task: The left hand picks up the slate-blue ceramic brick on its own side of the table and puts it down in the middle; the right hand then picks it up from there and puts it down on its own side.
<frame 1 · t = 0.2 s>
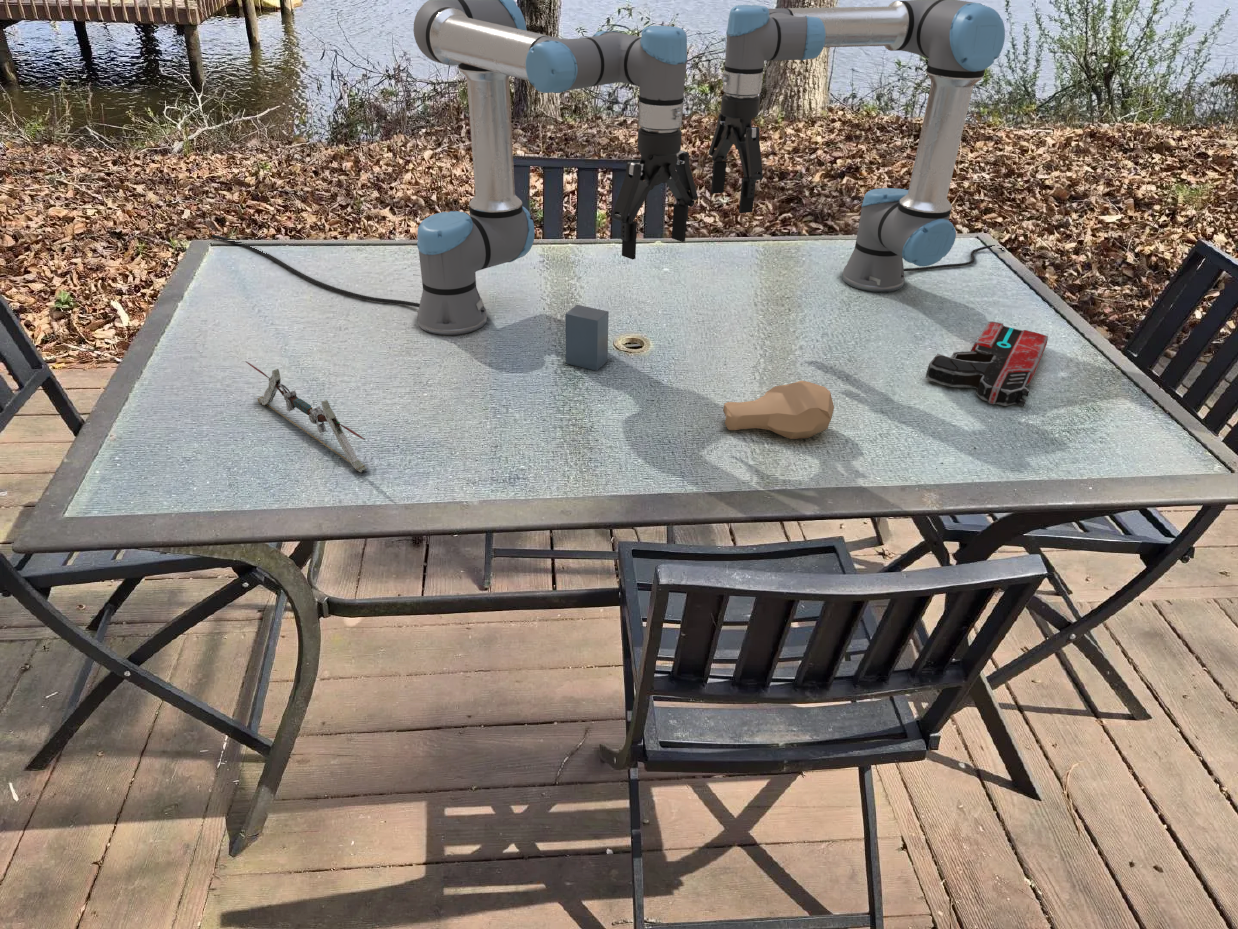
left hand: (654, 248, 161), 27 cm above the table, tool pointing down, fingers open, 13 cm apart
right hand: (731, 202, 184), 28 cm above the table, tool pointing down, fingers open, 13 cm apart
bow: (309, 435, 156), on the table
brick: (586, 362, 182), on the table
squash: (776, 430, 161), on the table
gun: (988, 369, 184), on the table
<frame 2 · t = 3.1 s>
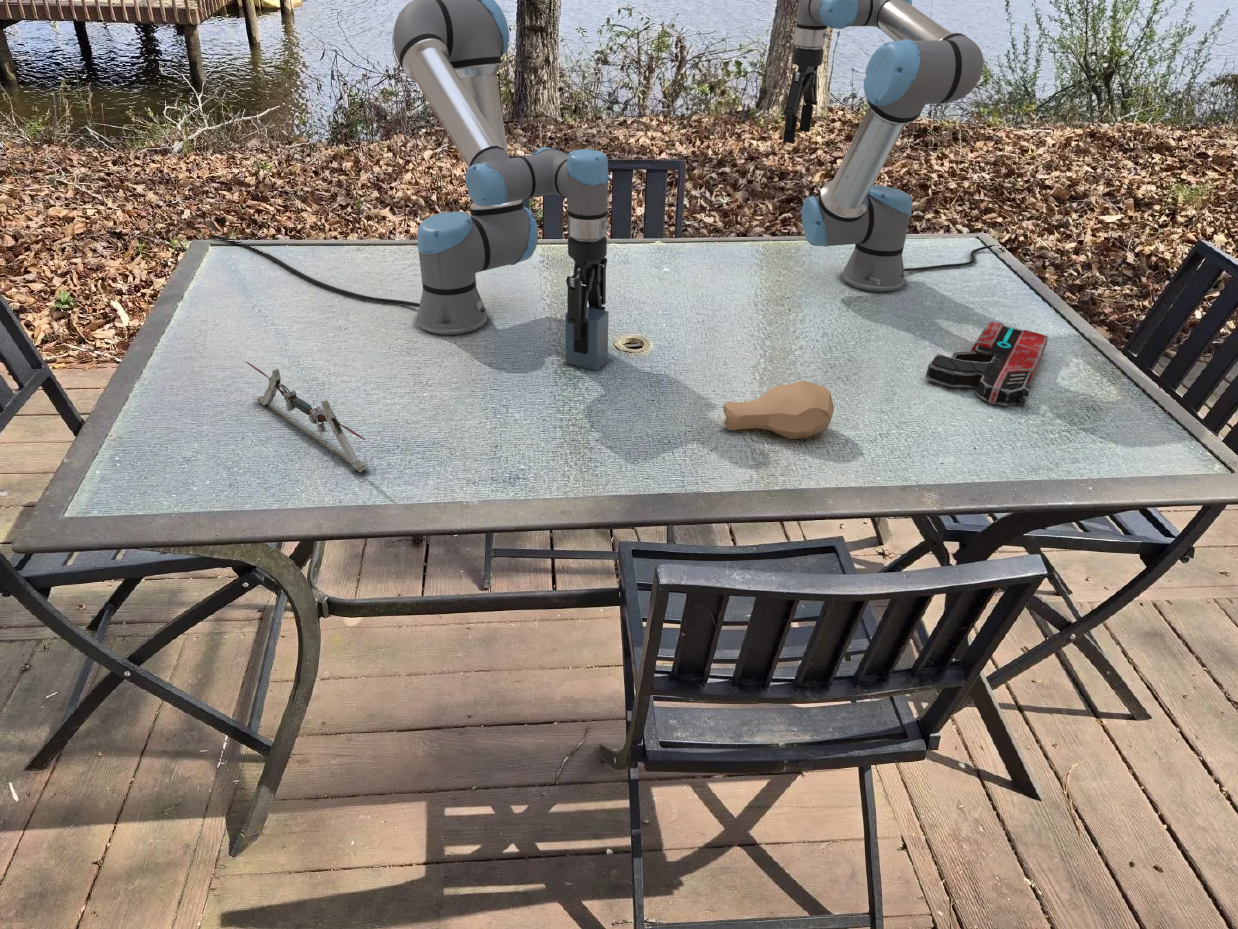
left hand: (586, 346, 180), 4 cm above the table, tool pointing down, fingers closed on brick, 5 cm apart
right hand: (796, 136, 227), 29 cm above the table, tool pointing down, fingers open, 13 cm apart
brick: (586, 362, 182), on the table, touching left hand
everything else where it was.
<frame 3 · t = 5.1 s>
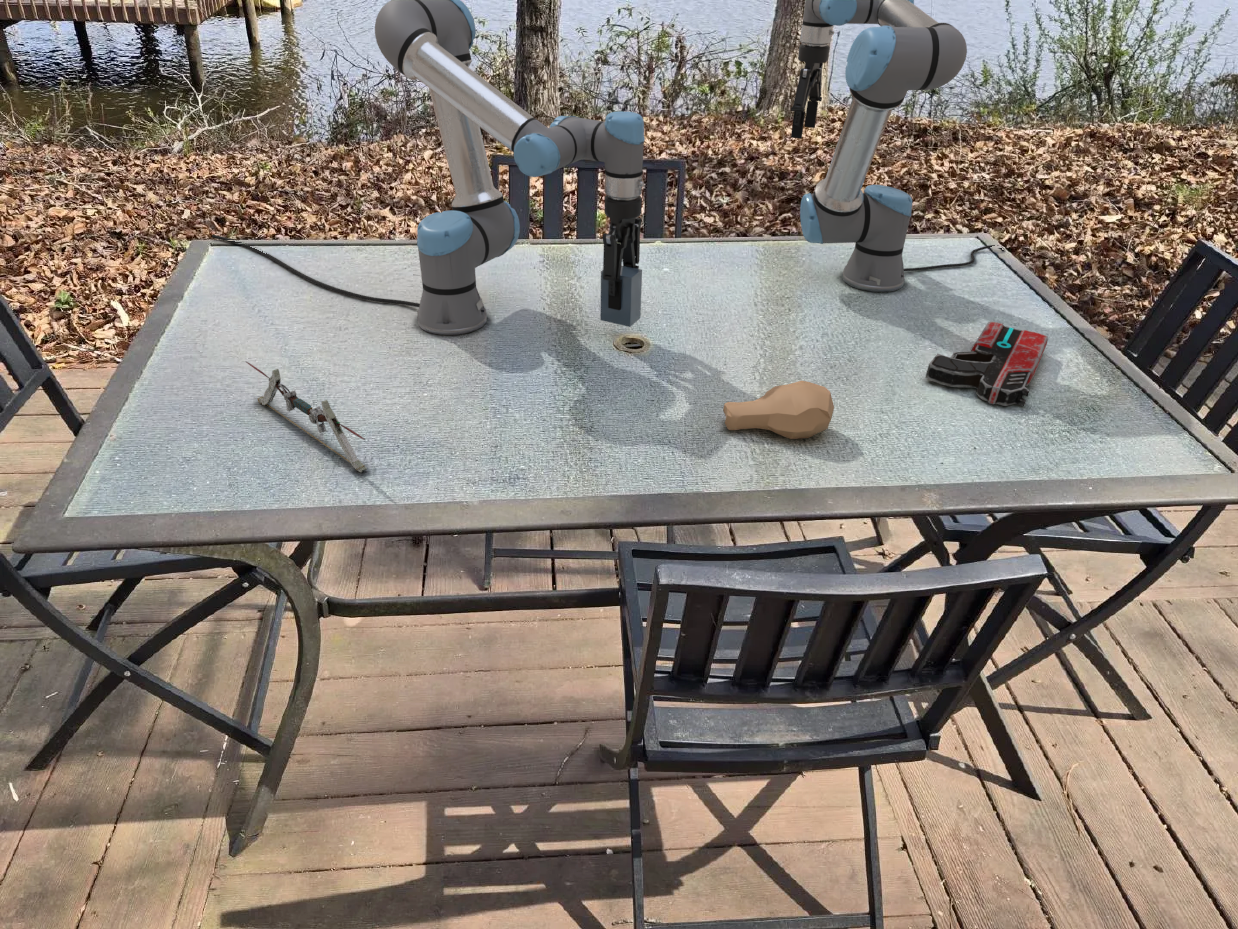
left hand: (620, 303, 188), 8 cm above the table, tool pointing down, fingers closed on brick, 5 cm apart
right hand: (802, 132, 231), 29 cm above the table, tool pointing down, fingers open, 13 cm apart
brick: (620, 319, 190), point 4 cm above the table, touching left hand
everything else where it was.
when the left hand's fingers open (5 cm above the table, at t = 7.2 s): brick drops 1 cm, on the table.
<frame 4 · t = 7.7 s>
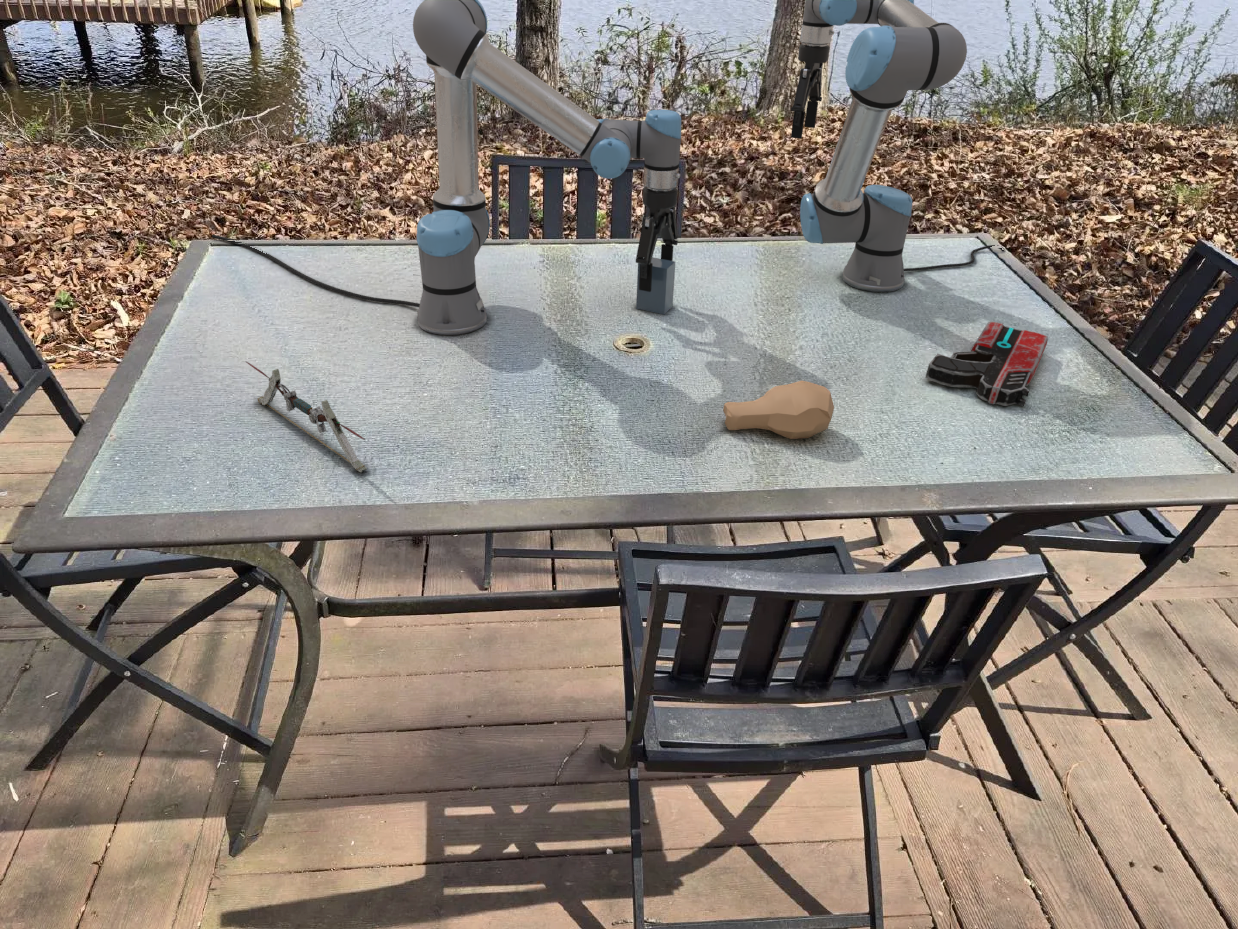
left hand: (655, 281, 203), 7 cm above the table, tool pointing down, fingers open, 12 cm apart
right hand: (802, 132, 231), 29 cm above the table, tool pointing down, fingers open, 13 cm apart
brick: (654, 307, 206), on the table
everything else where it was.
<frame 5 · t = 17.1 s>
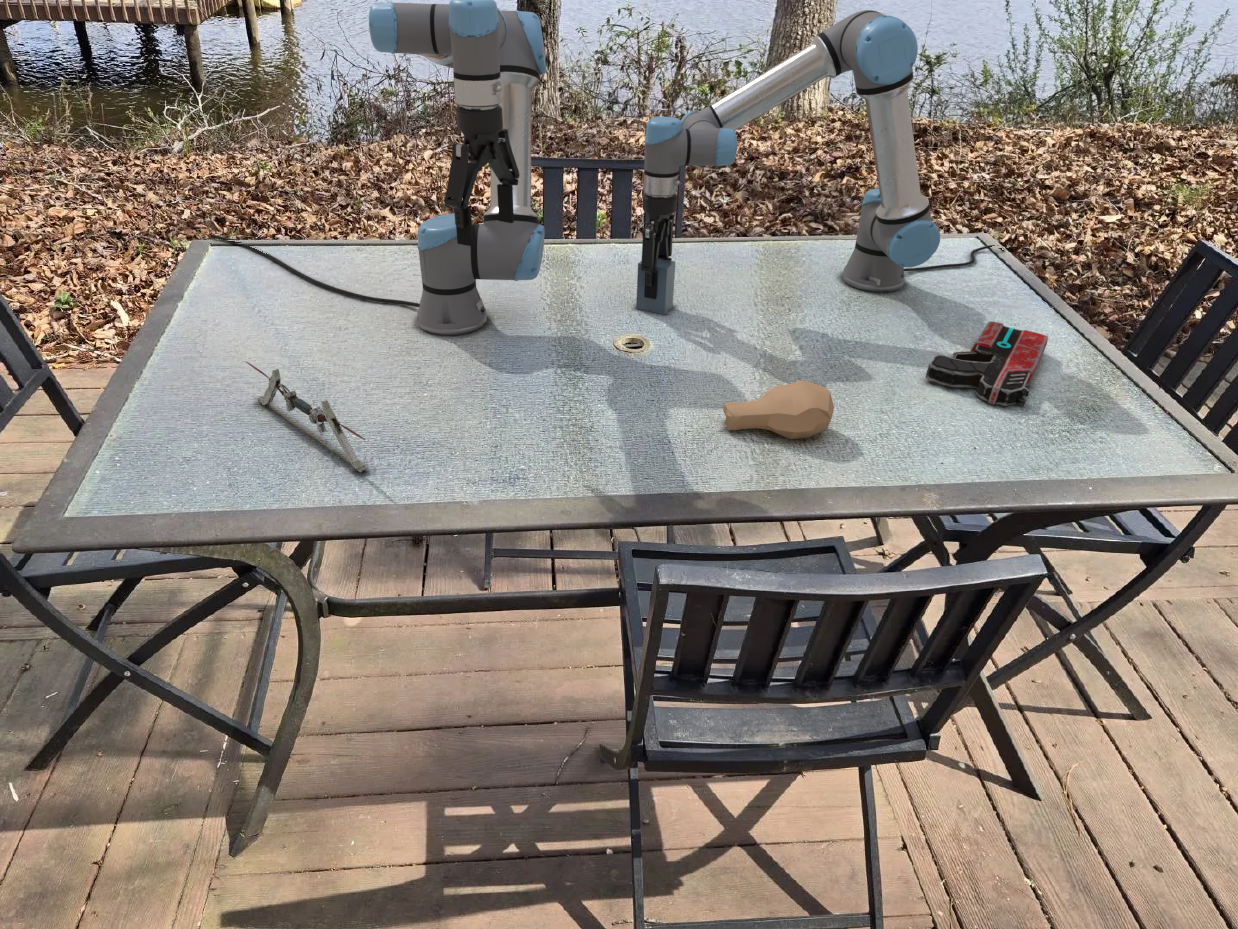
left hand: (486, 232, 154), 31 cm above the table, tool pointing down, fingers open, 13 cm apart
right hand: (655, 292, 204), 4 cm above the table, tool pointing down, fingers closed on brick, 5 cm apart
brick: (654, 307, 206), on the table, touching right hand
everything else where it was.
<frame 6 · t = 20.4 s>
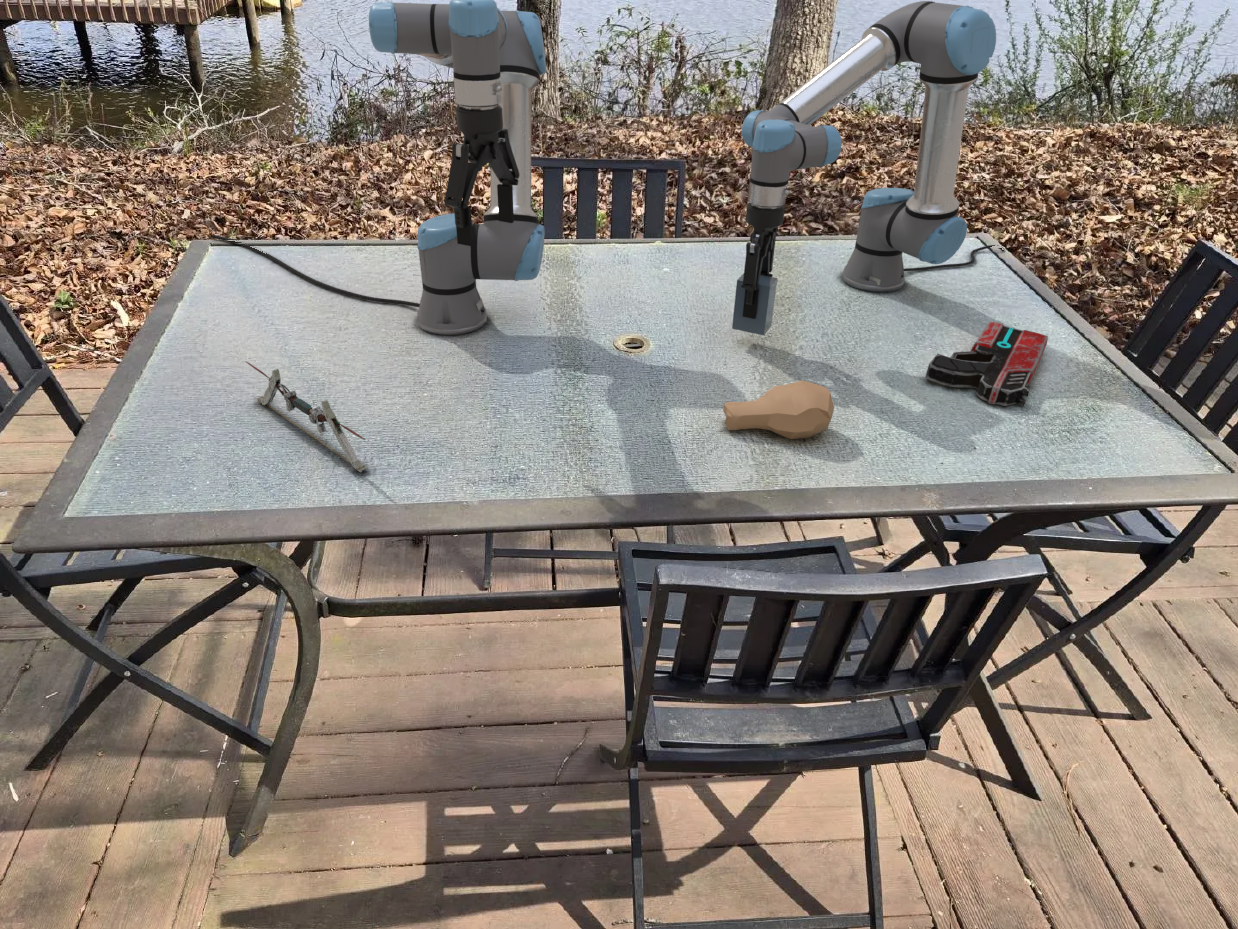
left hand: (486, 232, 154), 31 cm above the table, tool pointing down, fingers open, 13 cm apart
right hand: (753, 311, 187), 8 cm above the table, tool pointing down, fingers closed on brick, 5 cm apart
brick: (751, 327, 189), point 4 cm above the table, touching right hand
everything else where it was.
when the right hand's fingers open (5 cm above the table, at t = 23.8 s): brick drops 1 cm, on the table.
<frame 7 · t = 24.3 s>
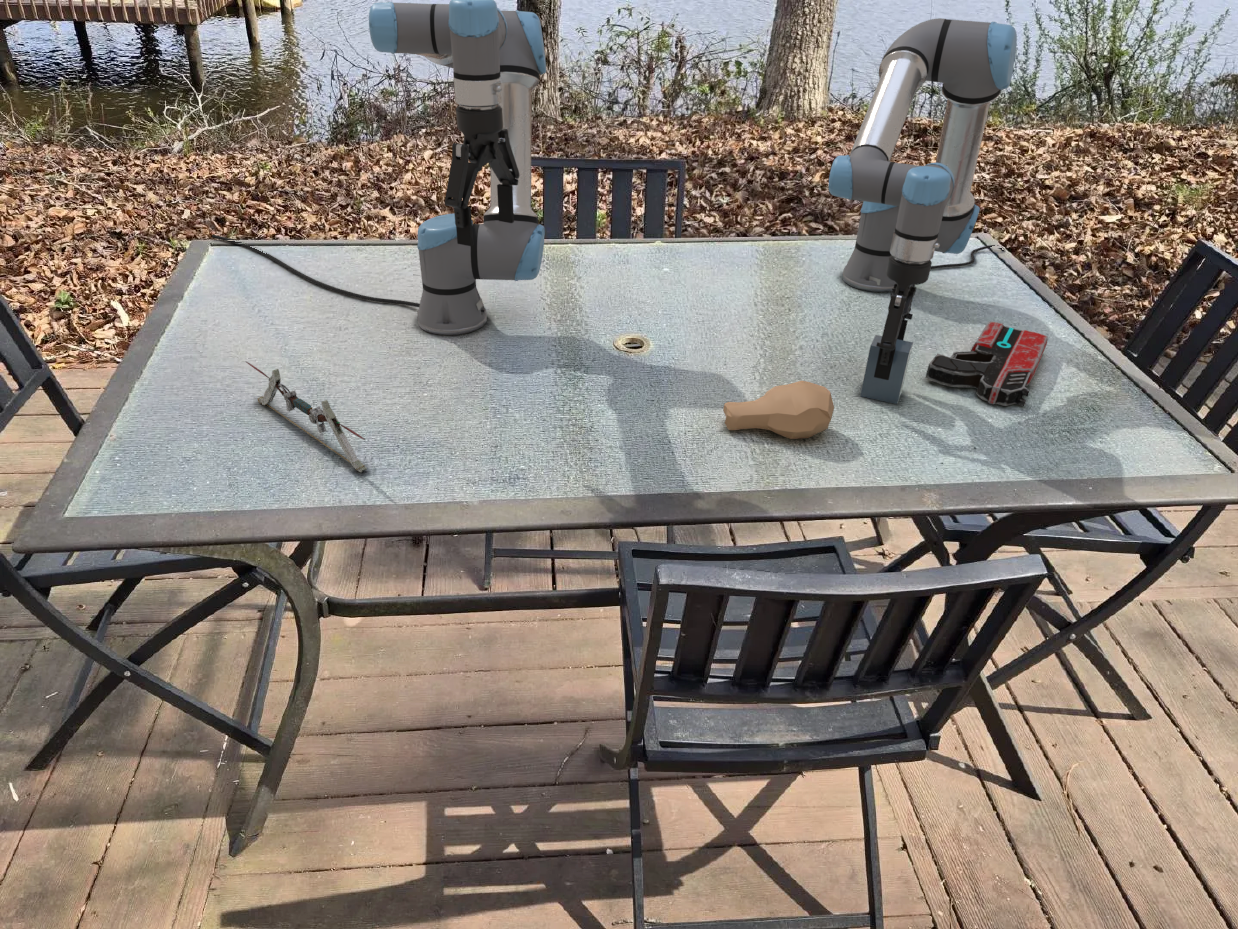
left hand: (486, 232, 154), 31 cm above the table, tool pointing down, fingers open, 13 cm apart
right hand: (887, 363, 170), 7 cm above the table, tool pointing down, fingers open, 13 cm apart
brick: (880, 394, 174), on the table
everything else where it was.
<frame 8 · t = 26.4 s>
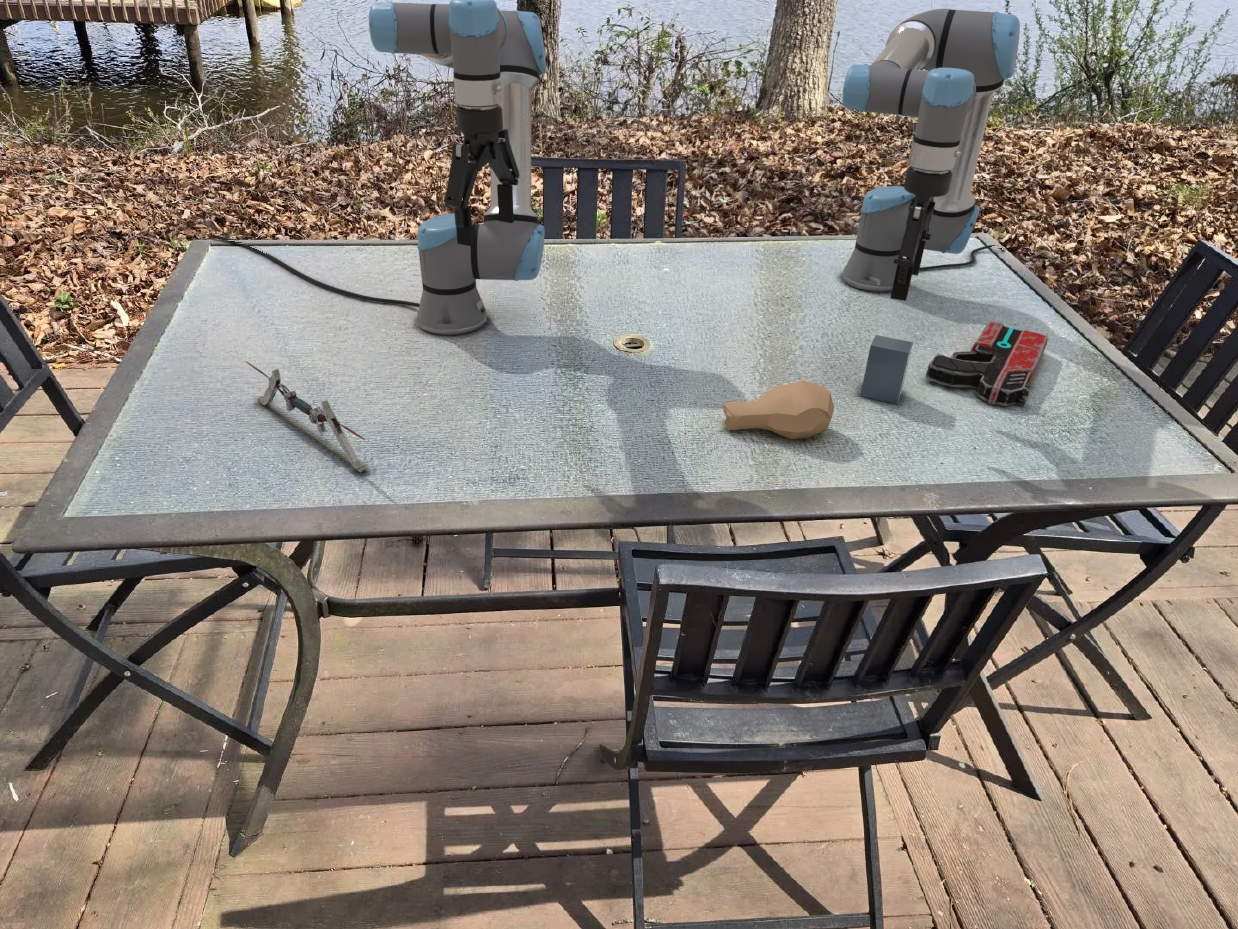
left hand: (486, 232, 154), 31 cm above the table, tool pointing down, fingers open, 13 cm apart
right hand: (904, 286, 161), 23 cm above the table, tool pointing down, fingers open, 13 cm apart
nothing on the table moved.
at the end: brick inside the target area (0.1 cm from its centre), on the table; brick tilted 0°; the two hands never held the brick at the same time; the left hand is holding nothing; the right hand is holding nothing; brick at rest at the end (0.0 cm/s) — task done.
